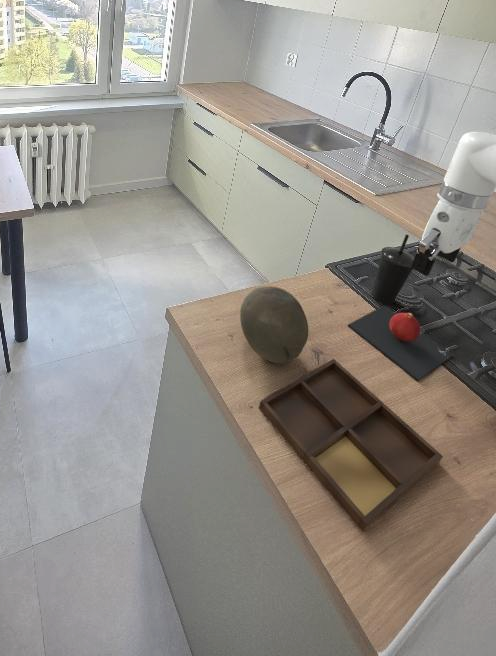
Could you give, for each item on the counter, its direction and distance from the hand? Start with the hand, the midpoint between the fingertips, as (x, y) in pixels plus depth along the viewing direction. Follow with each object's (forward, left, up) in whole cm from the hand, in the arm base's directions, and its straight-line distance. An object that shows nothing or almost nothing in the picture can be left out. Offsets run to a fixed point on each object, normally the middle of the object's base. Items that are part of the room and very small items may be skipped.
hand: (432, 264), depth 88 cm
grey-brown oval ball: (+12, +30, -22) cm, 39 cm away
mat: (0, 0, -22) cm, 22 cm away
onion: (0, 0, -22) cm, 22 cm away
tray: (-8, +31, -22) cm, 39 cm away
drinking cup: (+10, -10, -22) cm, 27 cm away
